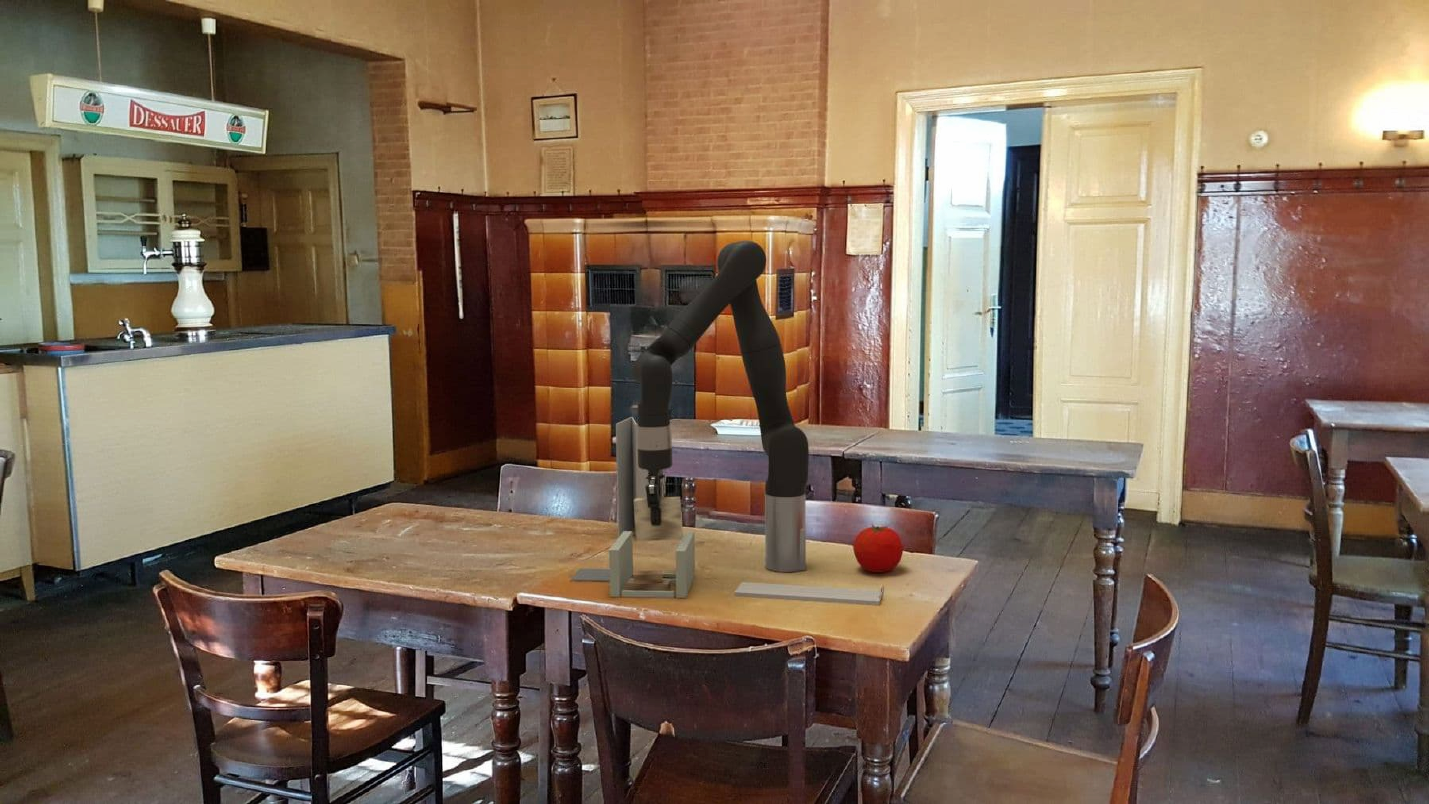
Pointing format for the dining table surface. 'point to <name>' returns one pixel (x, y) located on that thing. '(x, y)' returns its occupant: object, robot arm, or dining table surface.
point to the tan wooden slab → (669, 520)
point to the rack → (684, 573)
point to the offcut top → (648, 577)
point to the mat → (592, 575)
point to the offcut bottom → (649, 586)
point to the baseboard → (810, 593)
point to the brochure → (628, 474)
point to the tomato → (878, 549)
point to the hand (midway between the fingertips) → (657, 523)
